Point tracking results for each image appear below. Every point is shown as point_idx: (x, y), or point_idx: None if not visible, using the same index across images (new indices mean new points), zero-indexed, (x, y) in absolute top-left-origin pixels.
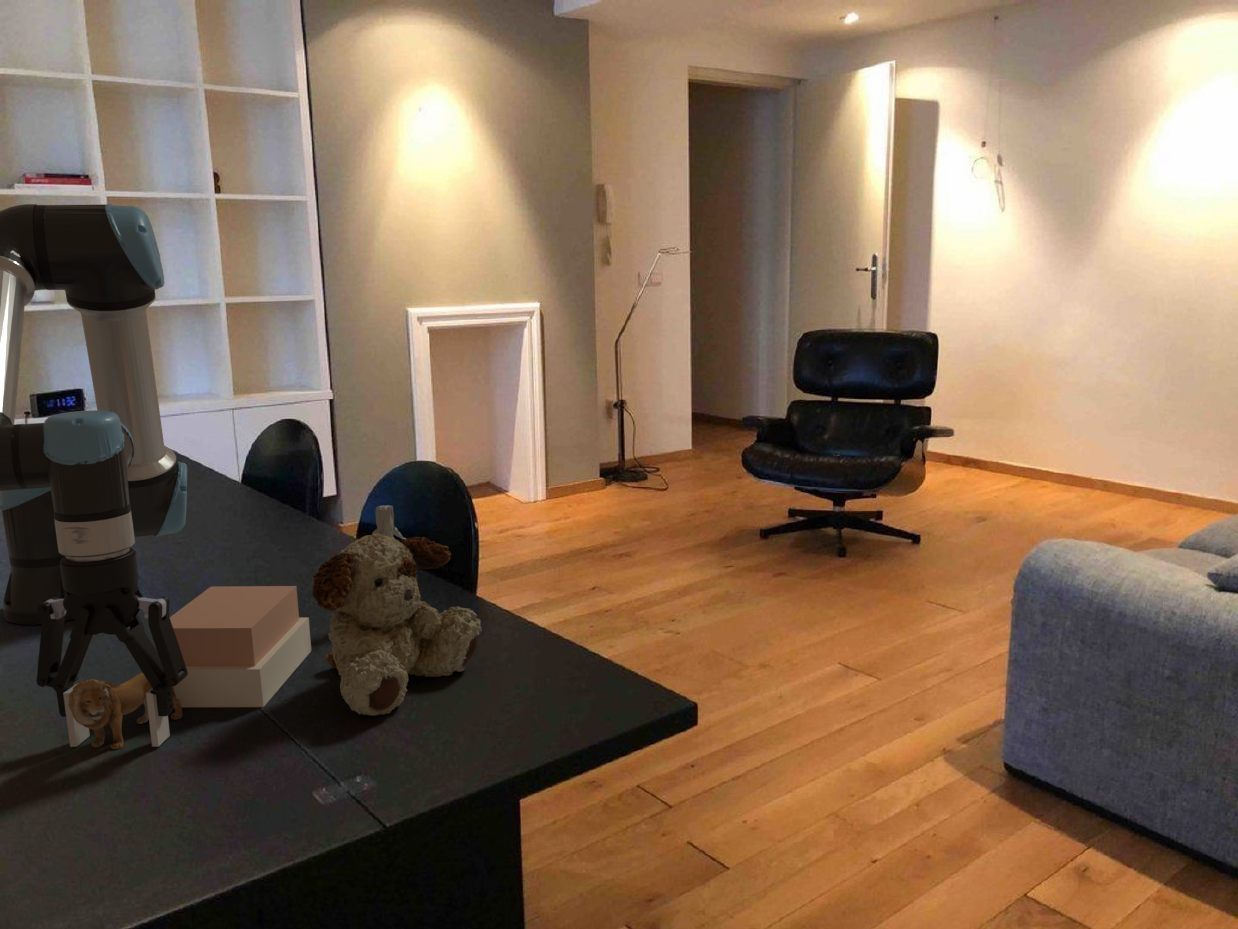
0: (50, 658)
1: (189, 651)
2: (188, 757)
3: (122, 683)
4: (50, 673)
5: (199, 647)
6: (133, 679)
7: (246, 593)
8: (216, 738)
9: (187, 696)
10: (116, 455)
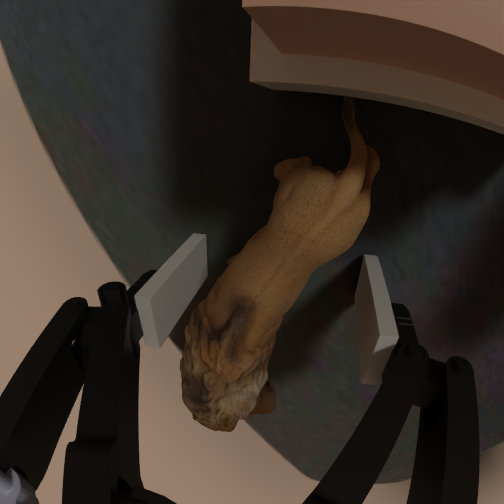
0: (74, 393)
1: (424, 62)
2: (420, 325)
3: (252, 284)
4: (81, 338)
5: (473, 72)
6: (278, 267)
7: None
8: (460, 267)
9: (374, 98)
10: None
